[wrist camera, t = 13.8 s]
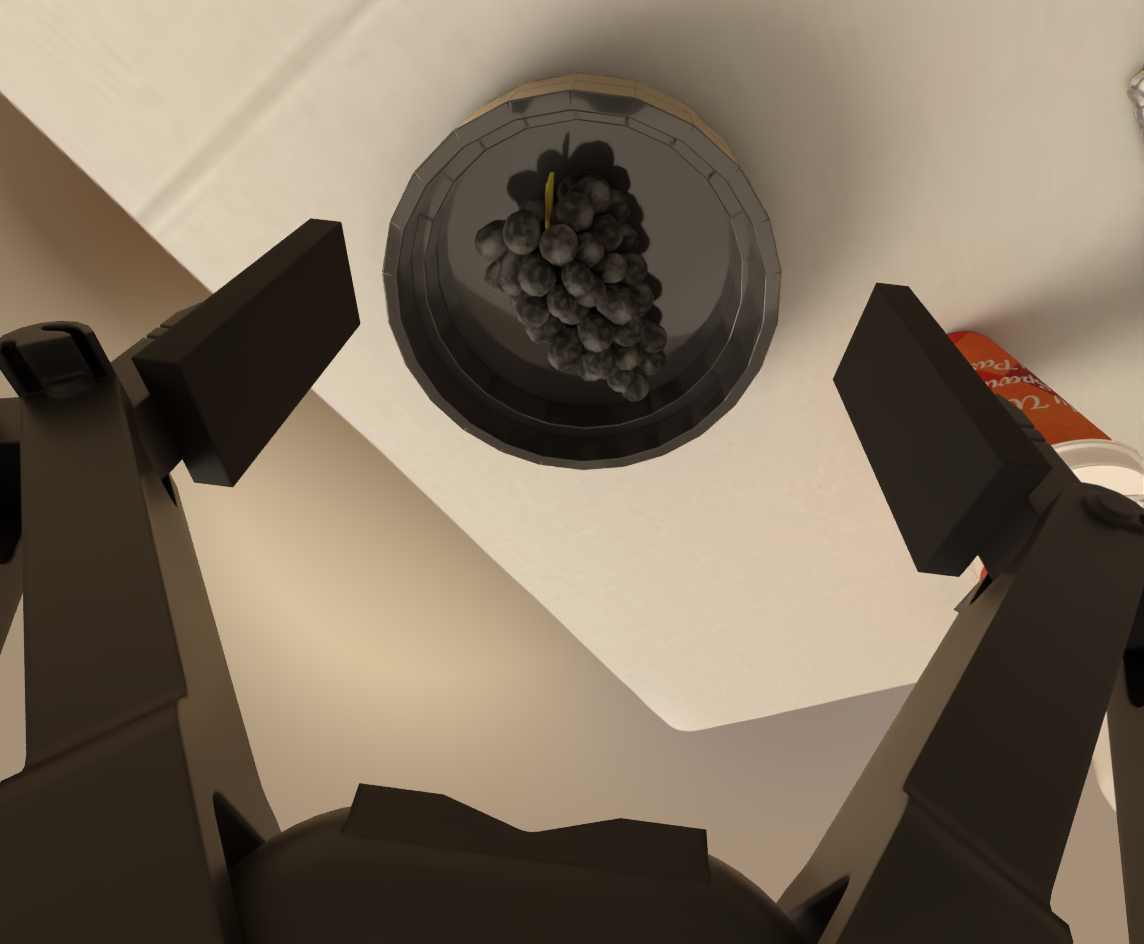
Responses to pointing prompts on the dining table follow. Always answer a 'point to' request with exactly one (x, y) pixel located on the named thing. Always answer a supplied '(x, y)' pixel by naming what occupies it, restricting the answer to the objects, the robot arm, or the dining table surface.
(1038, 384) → the paper cup
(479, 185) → the bowl
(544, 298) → the fruit
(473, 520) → the dining table surface
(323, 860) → the robot arm
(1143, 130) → the towel
